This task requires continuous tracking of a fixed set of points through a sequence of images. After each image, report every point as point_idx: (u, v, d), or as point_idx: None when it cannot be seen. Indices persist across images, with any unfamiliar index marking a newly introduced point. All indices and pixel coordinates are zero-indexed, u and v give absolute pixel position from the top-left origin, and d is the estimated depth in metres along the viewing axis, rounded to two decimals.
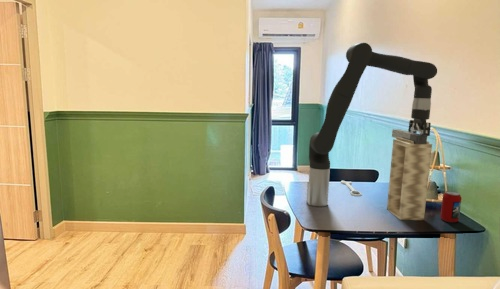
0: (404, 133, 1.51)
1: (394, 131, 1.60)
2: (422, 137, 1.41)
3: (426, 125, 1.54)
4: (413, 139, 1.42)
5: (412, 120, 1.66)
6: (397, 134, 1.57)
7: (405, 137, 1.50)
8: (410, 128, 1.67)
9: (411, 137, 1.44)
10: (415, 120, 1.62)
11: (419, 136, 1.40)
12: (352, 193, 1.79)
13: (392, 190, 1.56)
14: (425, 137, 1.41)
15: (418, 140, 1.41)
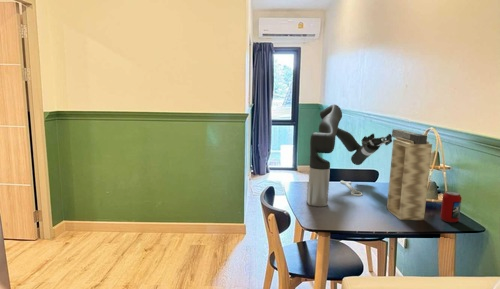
0: (404, 133, 1.51)
1: (394, 131, 1.60)
2: (422, 137, 1.41)
3: None
4: (413, 139, 1.42)
5: None
6: (397, 134, 1.57)
7: (405, 137, 1.50)
8: None
9: (411, 137, 1.44)
10: None
11: (419, 136, 1.40)
12: (353, 193, 1.79)
13: (392, 190, 1.56)
14: (425, 137, 1.41)
15: (418, 140, 1.41)
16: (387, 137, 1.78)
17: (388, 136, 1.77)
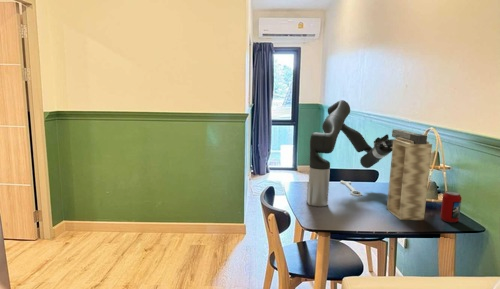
0: (404, 133, 1.51)
1: (394, 131, 1.60)
2: (422, 137, 1.41)
3: None
4: (413, 139, 1.42)
5: None
6: (397, 134, 1.57)
7: (405, 137, 1.50)
8: None
9: (411, 137, 1.44)
10: None
11: (419, 136, 1.40)
12: (353, 193, 1.79)
13: (392, 190, 1.56)
14: (425, 137, 1.41)
15: (418, 140, 1.41)
16: None
17: None
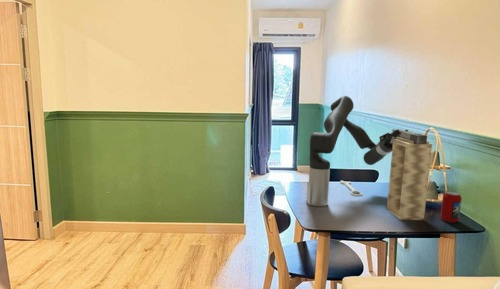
0: (404, 133, 1.51)
1: None
2: (422, 137, 1.41)
3: None
4: (413, 139, 1.42)
5: None
6: None
7: (405, 137, 1.50)
8: None
9: (411, 137, 1.44)
10: None
11: (419, 136, 1.40)
12: (352, 193, 1.79)
13: (392, 190, 1.56)
14: (425, 137, 1.41)
15: (418, 140, 1.41)
16: None
17: None
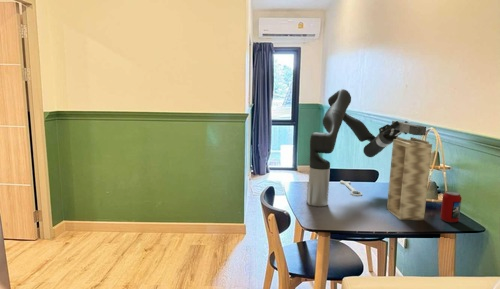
0: (403, 124, 1.51)
1: None
2: (421, 128, 1.41)
3: None
4: (412, 130, 1.43)
5: None
6: None
7: (404, 128, 1.50)
8: (386, 126, 1.63)
9: (410, 128, 1.44)
10: None
11: (418, 127, 1.41)
12: (352, 193, 1.79)
13: (392, 190, 1.56)
14: (424, 128, 1.41)
15: (417, 131, 1.41)
16: None
17: None
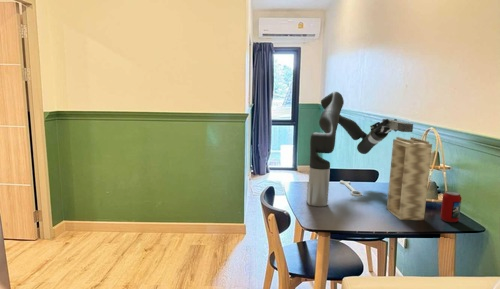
0: (393, 122, 1.62)
1: None
2: (408, 125, 1.52)
3: None
4: (400, 127, 1.53)
5: None
6: None
7: (393, 126, 1.61)
8: None
9: (398, 125, 1.55)
10: None
11: (406, 124, 1.51)
12: (353, 193, 1.79)
13: (392, 190, 1.56)
14: (411, 125, 1.52)
15: (405, 128, 1.52)
16: None
17: None
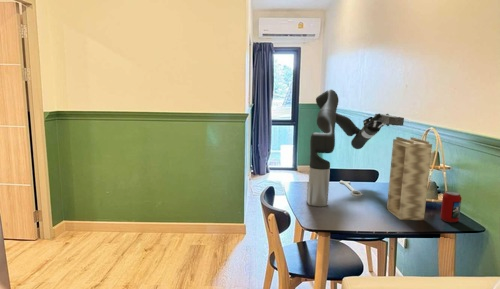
0: (384, 116, 1.66)
1: None
2: (399, 119, 1.56)
3: None
4: (391, 121, 1.57)
5: None
6: None
7: (385, 120, 1.65)
8: None
9: (390, 119, 1.59)
10: None
11: (397, 118, 1.56)
12: (352, 193, 1.79)
13: (392, 190, 1.56)
14: (402, 119, 1.56)
15: (396, 122, 1.56)
16: None
17: None
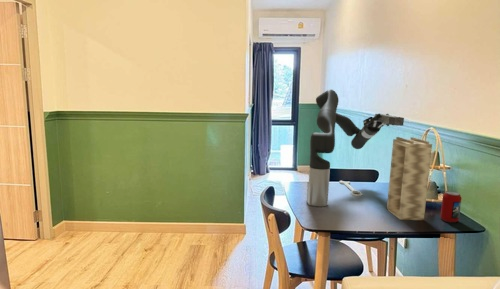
0: (384, 116, 1.66)
1: None
2: (399, 119, 1.56)
3: None
4: (391, 121, 1.57)
5: None
6: None
7: (385, 120, 1.65)
8: None
9: (390, 119, 1.59)
10: None
11: (397, 118, 1.56)
12: (353, 193, 1.79)
13: (392, 190, 1.56)
14: (402, 119, 1.56)
15: (396, 122, 1.56)
16: None
17: None
